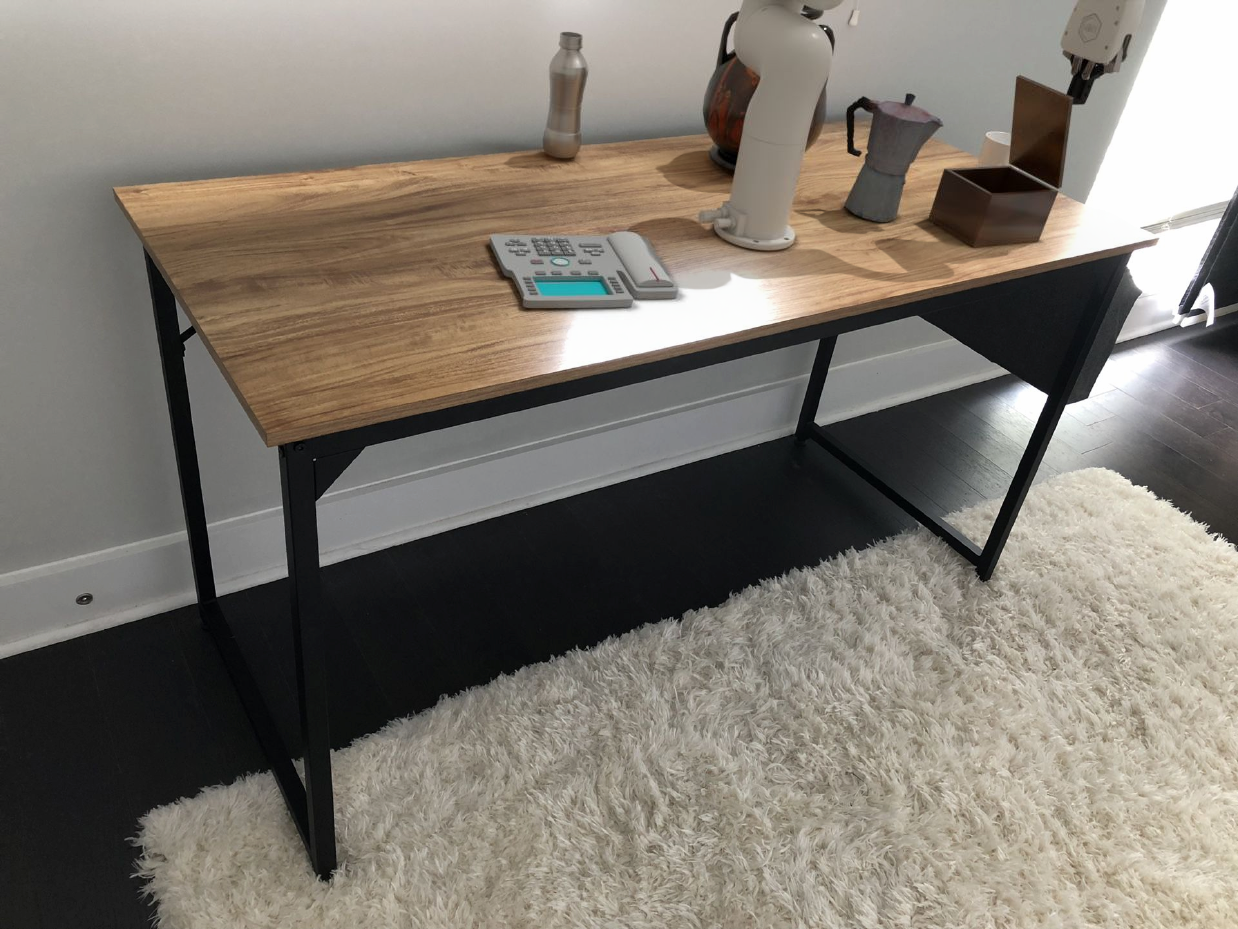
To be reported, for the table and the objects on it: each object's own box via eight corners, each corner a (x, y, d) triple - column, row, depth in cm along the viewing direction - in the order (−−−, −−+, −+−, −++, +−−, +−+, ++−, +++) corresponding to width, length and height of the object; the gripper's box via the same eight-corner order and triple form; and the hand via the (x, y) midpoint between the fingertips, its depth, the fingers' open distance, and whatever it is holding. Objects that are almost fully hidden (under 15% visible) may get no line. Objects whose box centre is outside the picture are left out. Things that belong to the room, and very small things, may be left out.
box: (973, 247, 159) (991, 195, 153) (927, 218, 167) (944, 168, 162) (1038, 241, 164) (1058, 191, 159) (991, 214, 173) (1009, 165, 167)
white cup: (1019, 199, 181) (1039, 146, 175) (985, 200, 178) (1005, 146, 172) (992, 183, 186) (1010, 131, 180) (959, 184, 184) (977, 131, 178)
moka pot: (914, 231, 161) (953, 108, 149) (822, 213, 163) (853, 90, 151) (912, 210, 169) (948, 92, 157) (824, 194, 170) (853, 76, 159)
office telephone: (646, 226, 143) (692, 289, 128) (644, 243, 144) (688, 307, 129) (489, 225, 136) (518, 291, 121) (488, 242, 138) (516, 310, 122)
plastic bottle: (537, 149, 171) (546, 28, 160) (574, 149, 173) (585, 30, 162) (546, 162, 167) (556, 38, 155) (584, 162, 169) (596, 40, 157)
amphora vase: (810, 158, 185) (848, -1, 169) (811, 198, 168) (854, 25, 152) (698, 139, 186) (725, -21, 170) (688, 177, 169) (717, 3, 153)
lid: (1069, 99, 148) (1073, 97, 148) (1016, 76, 156) (1020, 74, 157) (1057, 189, 159) (1061, 187, 159) (1008, 163, 167) (1012, 161, 167)
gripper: (1067, -34, 150) (1024, 89, 161) (1144, -11, 140) (1092, 118, 150) (1101, -32, 153) (1057, 88, 164) (1179, -9, 143) (1126, 117, 153)
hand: (1074, 102), depth 157 cm, fingers closed
